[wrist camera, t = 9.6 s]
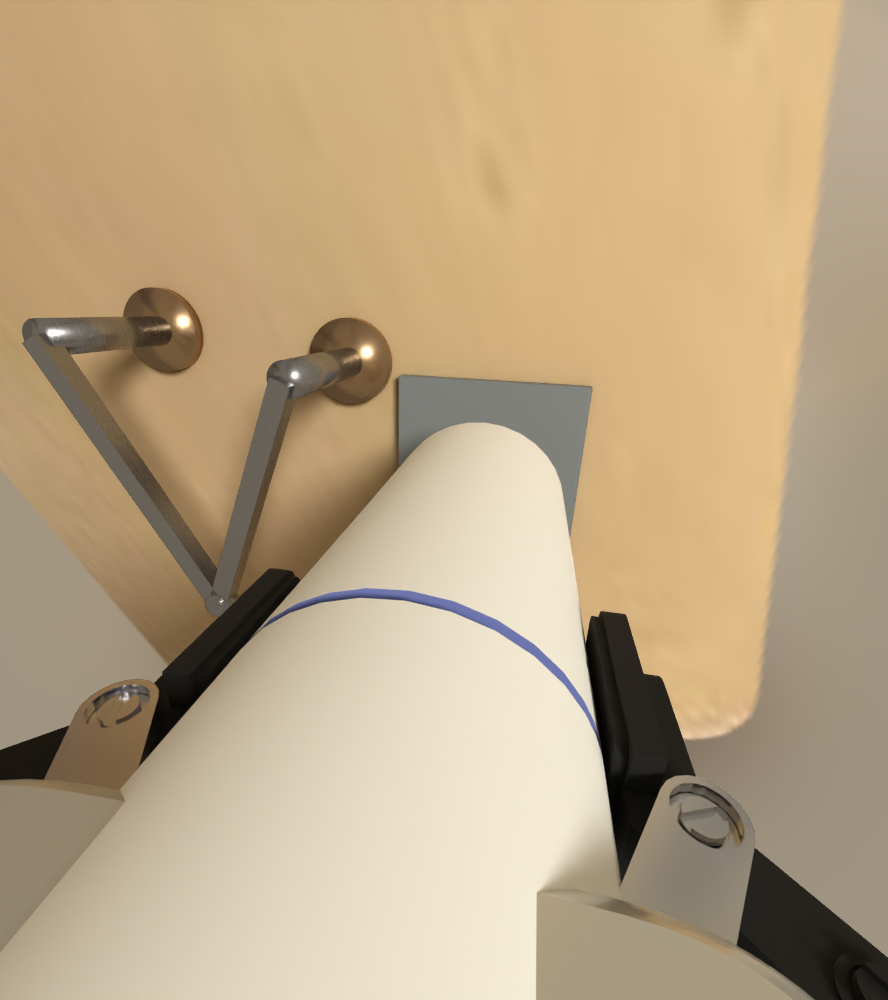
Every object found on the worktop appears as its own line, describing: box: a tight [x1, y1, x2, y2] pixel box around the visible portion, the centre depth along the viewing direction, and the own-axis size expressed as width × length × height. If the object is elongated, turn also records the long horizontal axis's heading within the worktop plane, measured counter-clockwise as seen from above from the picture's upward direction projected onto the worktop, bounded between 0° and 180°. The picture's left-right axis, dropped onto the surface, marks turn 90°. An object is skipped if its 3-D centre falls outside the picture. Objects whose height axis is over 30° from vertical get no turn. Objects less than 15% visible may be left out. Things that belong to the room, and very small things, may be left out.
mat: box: [399, 374, 592, 538], centre depth 24 cm, size 9×9×1 cm
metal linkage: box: [22, 288, 392, 617], centre depth 22 cm, size 14×14×8 cm
